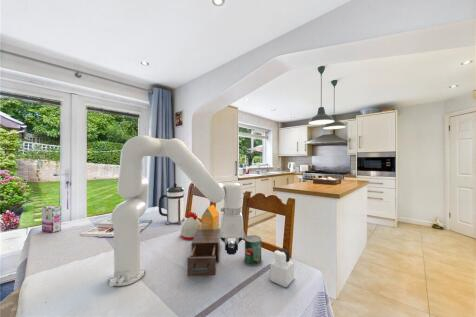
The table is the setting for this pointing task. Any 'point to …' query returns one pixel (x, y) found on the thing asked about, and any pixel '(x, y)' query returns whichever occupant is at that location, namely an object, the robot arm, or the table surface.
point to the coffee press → (173, 204)
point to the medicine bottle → (282, 268)
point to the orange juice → (210, 218)
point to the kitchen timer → (190, 227)
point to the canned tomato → (253, 250)
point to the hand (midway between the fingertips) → (231, 251)
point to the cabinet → (207, 239)
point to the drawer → (202, 261)
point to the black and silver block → (231, 248)
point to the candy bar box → (51, 218)
